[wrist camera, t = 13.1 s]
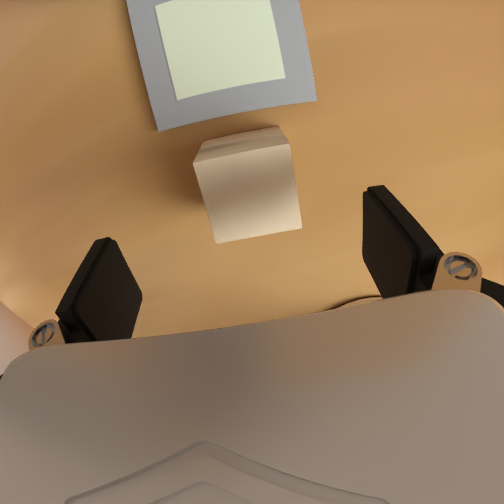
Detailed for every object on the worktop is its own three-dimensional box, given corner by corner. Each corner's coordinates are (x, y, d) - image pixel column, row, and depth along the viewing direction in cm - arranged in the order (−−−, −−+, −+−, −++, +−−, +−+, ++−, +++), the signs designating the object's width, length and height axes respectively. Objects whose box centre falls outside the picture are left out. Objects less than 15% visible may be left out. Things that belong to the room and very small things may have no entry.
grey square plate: (313, 99, 18) (317, 101, 17) (162, 129, 19) (158, 132, 18) (285, -38, 12) (287, -43, 11) (130, -4, 13) (124, -7, 12)
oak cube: (290, 193, 22) (302, 228, 18) (221, 206, 22) (216, 243, 18) (278, 125, 19) (289, 143, 15) (203, 140, 19) (192, 163, 15)
